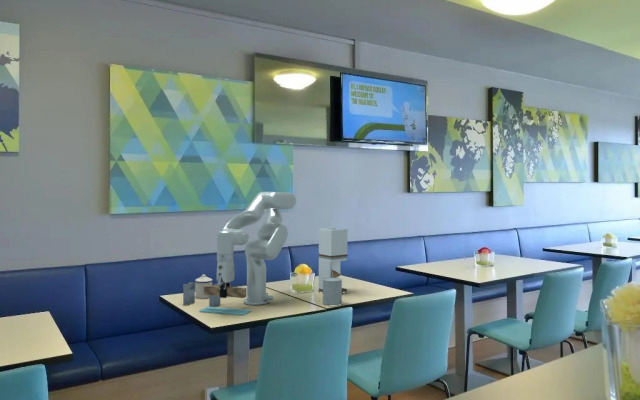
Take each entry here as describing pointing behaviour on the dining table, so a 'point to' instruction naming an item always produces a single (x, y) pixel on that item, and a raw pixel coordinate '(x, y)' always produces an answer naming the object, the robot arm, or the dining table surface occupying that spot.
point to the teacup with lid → (202, 286)
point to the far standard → (189, 293)
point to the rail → (231, 291)
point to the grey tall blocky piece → (331, 253)
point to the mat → (225, 311)
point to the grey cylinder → (332, 291)
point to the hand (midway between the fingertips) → (225, 296)
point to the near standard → (214, 300)
